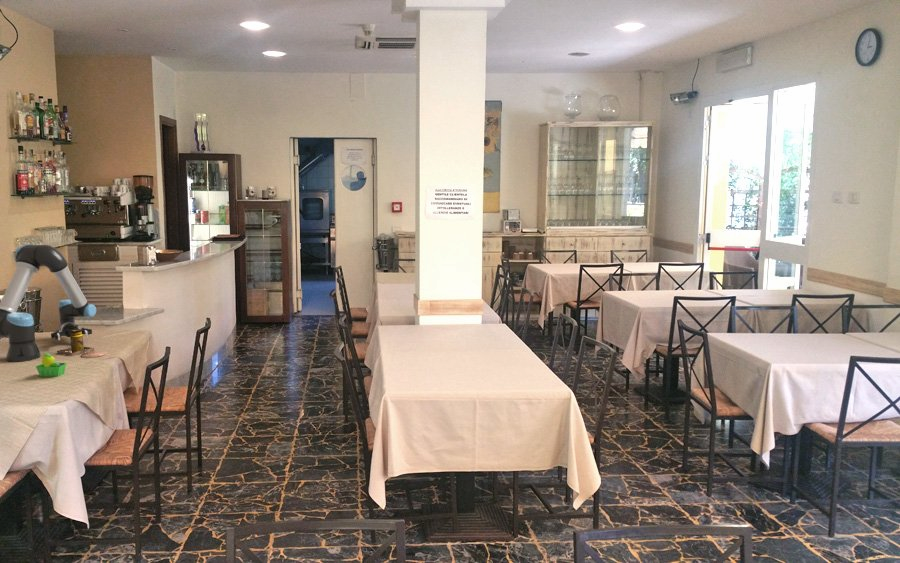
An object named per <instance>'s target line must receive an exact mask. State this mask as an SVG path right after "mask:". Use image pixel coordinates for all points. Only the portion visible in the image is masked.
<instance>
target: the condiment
mask: <svg viewBox="0 0 900 563" xmlns="http://www.w3.org/2000/svg"><path fill="white" fill-rule="evenodd" d="M80 329H81V328H80ZM80 329H79V328H78V329H75V330H71V336H70V337H69V338H70V339H69V340H70V348H71V351H72V353H74V352H78V351H82V350H84V347H85V346H84V337H83V336H84V334H82V331H81V330H80Z"/></svg>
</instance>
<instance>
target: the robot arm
mask: <svg viewBox="0 0 900 563" xmlns="http://www.w3.org/2000/svg"><path fill="white" fill-rule="evenodd" d="M13 256H14V262H15V263H14V264H15V267H16V269H15V271H14V273H13V275H12V277H11V279H10V281H9V284H8V286H7V287H6V290H5V291H4V294H3V296H2V298H1V300H0V338H2V339H3V338H5V339H7V338H8V343H9V347H8V350H7V354H6V361H7V360H8V362H11V361H19V362H26V361H25V360H28V361H32V360H31V359H33V360H37V359H39V358H41V351H40V349H39V347H38V345H37V343H36V333H35V321H34V317H33V315H32V314H31V313H28V312H22V311H21V312H17V311H18V309H19V307H20V304H21V303H22V300H23V298H24V296H25V294H26V292H27V289H28V287H29V285H30V283H31V281H32V278H33V276H34V274H36V273H39V272H40V271H39V270H40V268H41V267H46V268H47V269H48V270H49V272H50V273H53V274H54V276H55V278H56V279H57V281H58V283H59V284H60V286H61V287H62V289H63V291H64V293H65V294H66V296H67V298H68V299H61V300H59V301H58V313H59V329H60V330H59V329H57V330H56V331H54V332H51V333H50V337H51V339H54V340H58V341H61V337H66V338H70V336H71V330H75V329H79V328H78V327H77V326H76V322H75V318H78V317H79V318H93V317H95V315H96V313H97V307H96V306H95V305H94V304H92V303H89V301H88V300H87V298H86V297H85V295H84V293H83V291H82V289H81V287H80V286H79V284H78V283H77V281H76V279H75V278H74V276H73V274H72V272H71V271H70V269H69V267H68V266H69V263H68V262H67V261H68V260H66V258H65V256H64V255H63V253H61V252H60V251H59V250H58V249H57V248H55V247H54V246H51V245H48V244H32V243H29V244H23V245H19V247H17V248H16V250H15V252H14V255H13ZM80 330H81V331H82V335H85V337H86V338H88V337H89V336H90V335H92V334H93V330H92V328H85V327H81V328H80ZM36 358H37V359H36Z"/></svg>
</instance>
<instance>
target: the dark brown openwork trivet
mask: <svg viewBox="0 0 900 563" xmlns="http://www.w3.org/2000/svg"><path fill="white" fill-rule="evenodd" d="M84 349H86V350H82V351H78V352H74V353H70V352H69V351H70V350H71V347H68V348H64V349H59V350H56V354H57V353H59V354H58V355H63V354H65V355H64V356H69V355H71V356H70V357H74V356H78V355H82V354H81V353H85V352H89V351H91V352H92V351H95V347H90V346H84ZM65 351H68V352H65ZM77 354H78V355H77ZM73 355H74V356H73Z"/></svg>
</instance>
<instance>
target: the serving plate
mask: <svg viewBox="0 0 900 563" xmlns="http://www.w3.org/2000/svg"><path fill="white" fill-rule="evenodd" d="M107 354H108V352H107V351H105V350H94V351H91V352H86V353H83V354H81V358H84V357H94V358H100V356H101V357H104V356H106V355H107Z"/></svg>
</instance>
